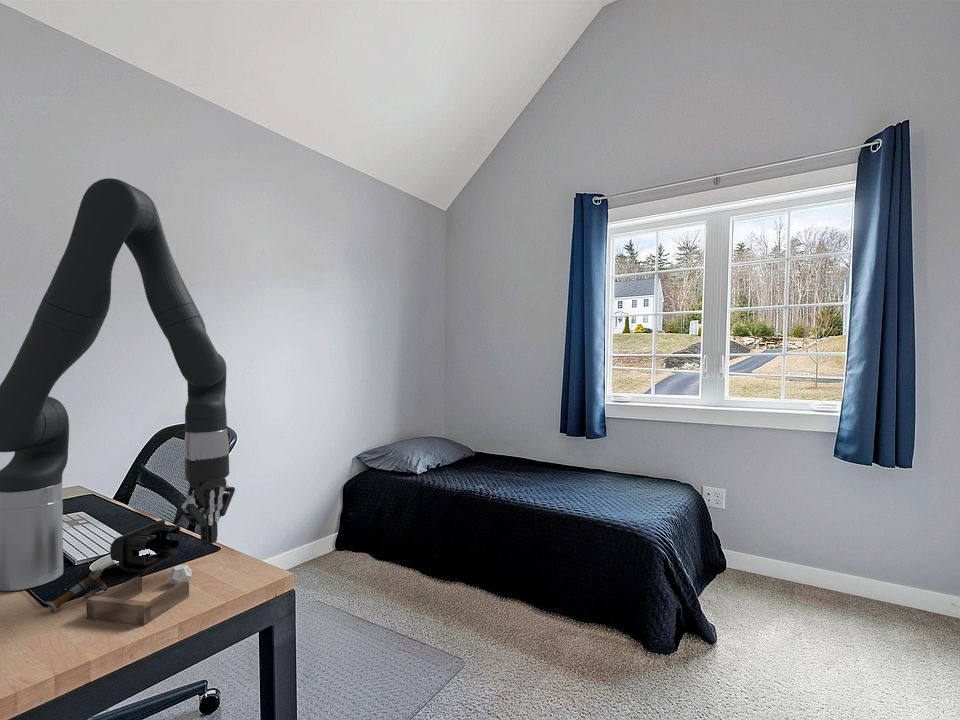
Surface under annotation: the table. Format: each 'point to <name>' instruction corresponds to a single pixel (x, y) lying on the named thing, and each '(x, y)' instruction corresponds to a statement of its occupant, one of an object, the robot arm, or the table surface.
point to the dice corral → (133, 603)
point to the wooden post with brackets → (93, 576)
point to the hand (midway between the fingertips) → (209, 543)
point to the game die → (179, 574)
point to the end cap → (145, 547)
